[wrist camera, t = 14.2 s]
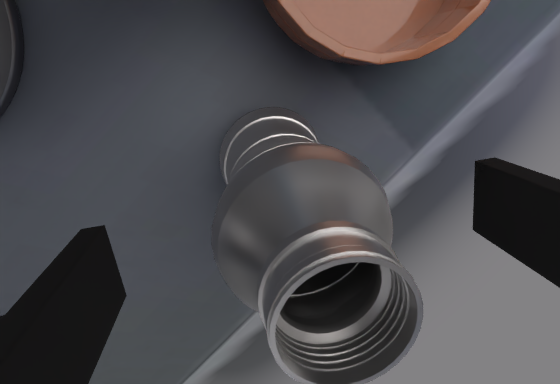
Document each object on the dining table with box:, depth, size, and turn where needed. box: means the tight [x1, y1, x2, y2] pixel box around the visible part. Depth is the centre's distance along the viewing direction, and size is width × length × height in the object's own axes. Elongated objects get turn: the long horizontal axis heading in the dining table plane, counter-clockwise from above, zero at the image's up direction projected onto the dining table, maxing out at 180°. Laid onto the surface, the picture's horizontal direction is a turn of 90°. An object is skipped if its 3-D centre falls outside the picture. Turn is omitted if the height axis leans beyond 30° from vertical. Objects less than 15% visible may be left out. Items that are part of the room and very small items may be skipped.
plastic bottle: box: [211, 107, 423, 384], centre depth 18 cm, size 6×7×20 cm
